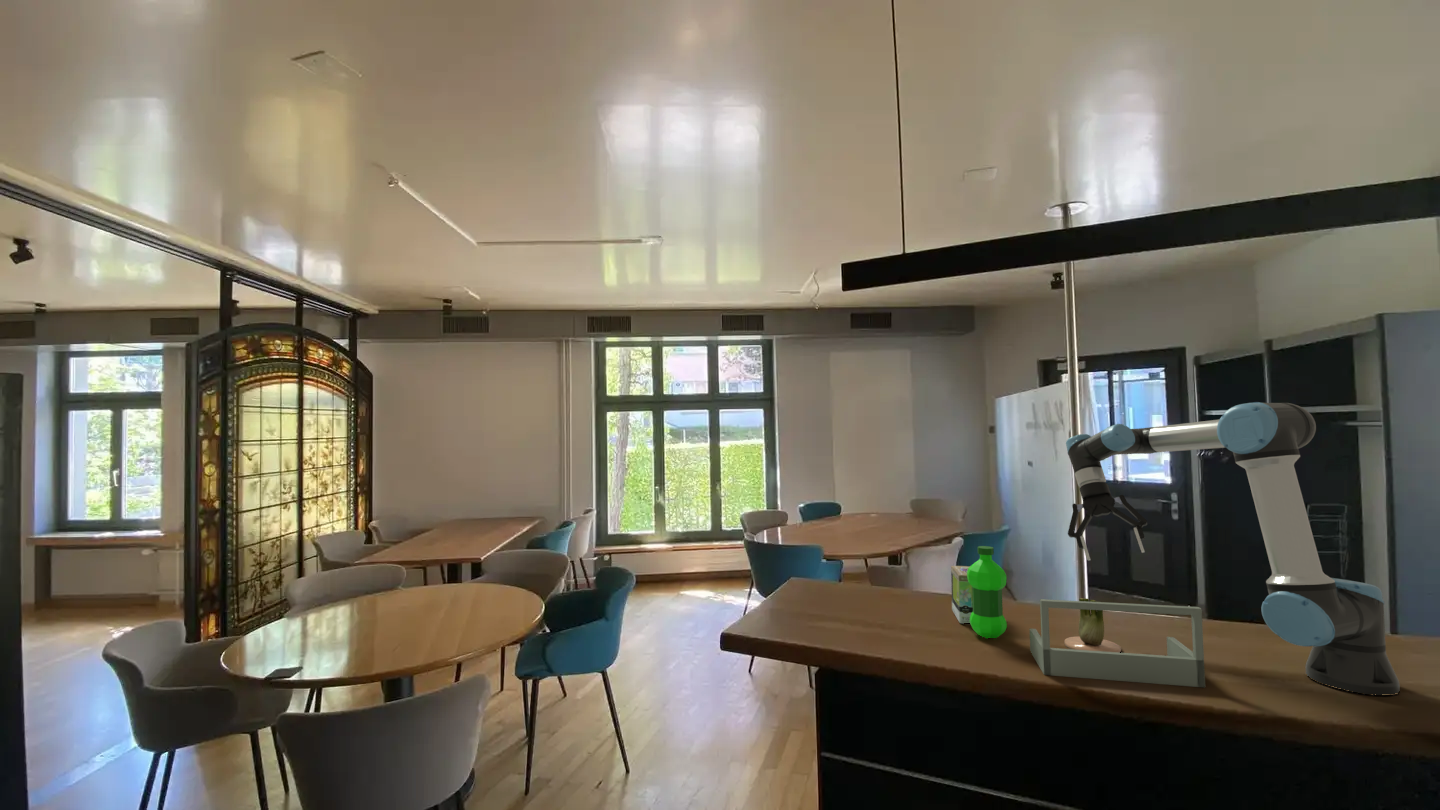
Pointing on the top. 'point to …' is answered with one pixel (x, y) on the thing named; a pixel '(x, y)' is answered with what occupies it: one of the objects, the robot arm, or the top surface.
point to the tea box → (961, 594)
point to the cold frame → (1122, 666)
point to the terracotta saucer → (1080, 645)
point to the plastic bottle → (987, 595)
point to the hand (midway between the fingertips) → (1115, 555)
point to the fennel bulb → (1091, 625)
